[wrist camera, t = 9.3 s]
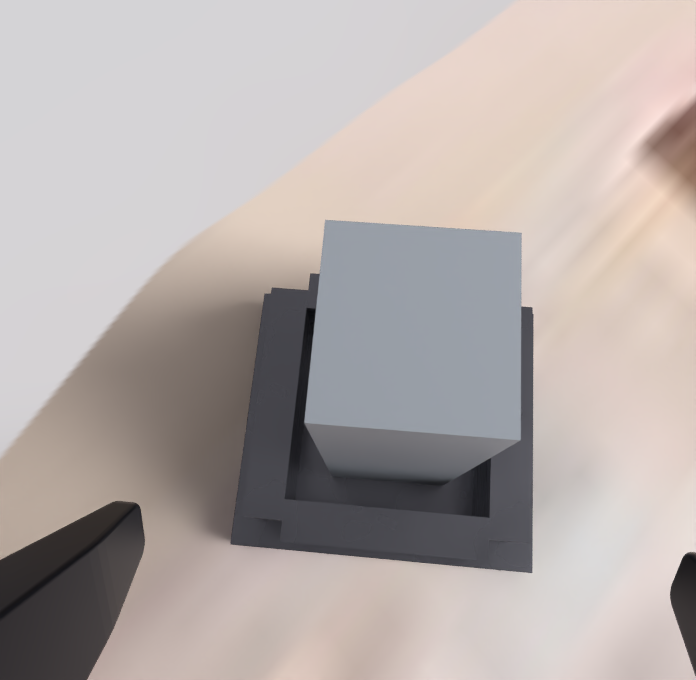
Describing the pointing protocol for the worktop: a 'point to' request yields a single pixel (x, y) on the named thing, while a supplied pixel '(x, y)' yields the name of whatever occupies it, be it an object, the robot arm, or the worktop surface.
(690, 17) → the worktop surface
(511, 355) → the tall grey box
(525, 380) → the dark grey tray
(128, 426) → the worktop surface
